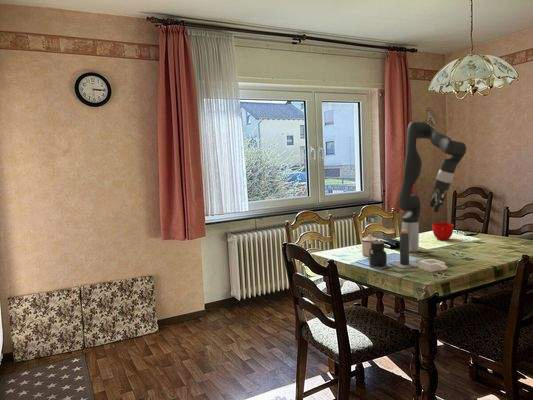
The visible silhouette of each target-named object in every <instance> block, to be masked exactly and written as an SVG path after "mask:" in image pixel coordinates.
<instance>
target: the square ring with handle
mask: <svg viewBox="0 0 533 400" xmlns="http://www.w3.org/2000/svg"><path fill="white" fill-rule="evenodd" d="M417 262H418V263H417V264H418V267H417V268H418V269H421V270H424V271H426V272H429V273H431V272H438V271H444V270H446V269H448V266H447V265H446V262H445V261H442V260H438V259H434V258H429V259H428V258H427V259H422V260H418V261H417Z"/></svg>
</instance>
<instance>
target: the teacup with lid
mask: <svg viewBox="0 0 533 400" xmlns="http://www.w3.org/2000/svg"><path fill="white" fill-rule="evenodd" d="M373 241H379V239H378V238H376V237H374V236H372V234H368V235H367V236H365V237H363V238H362V239H361V246H362V248H361V249H362V251H361V254H362V256H366V257H369V252H370V251H371V250H372V249H371V242H373Z"/></svg>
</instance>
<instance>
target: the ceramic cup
mask: <svg viewBox="0 0 533 400" xmlns="http://www.w3.org/2000/svg"><path fill="white" fill-rule="evenodd" d="M431 225H432V227H431V228H432V234H433V235H434V237H435V238H436V239H437V240H439V241H448V240H449V239H450V238H451V237H452V235H453V232H454V224H453V223H449V222H434V223H432V224H431Z"/></svg>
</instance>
